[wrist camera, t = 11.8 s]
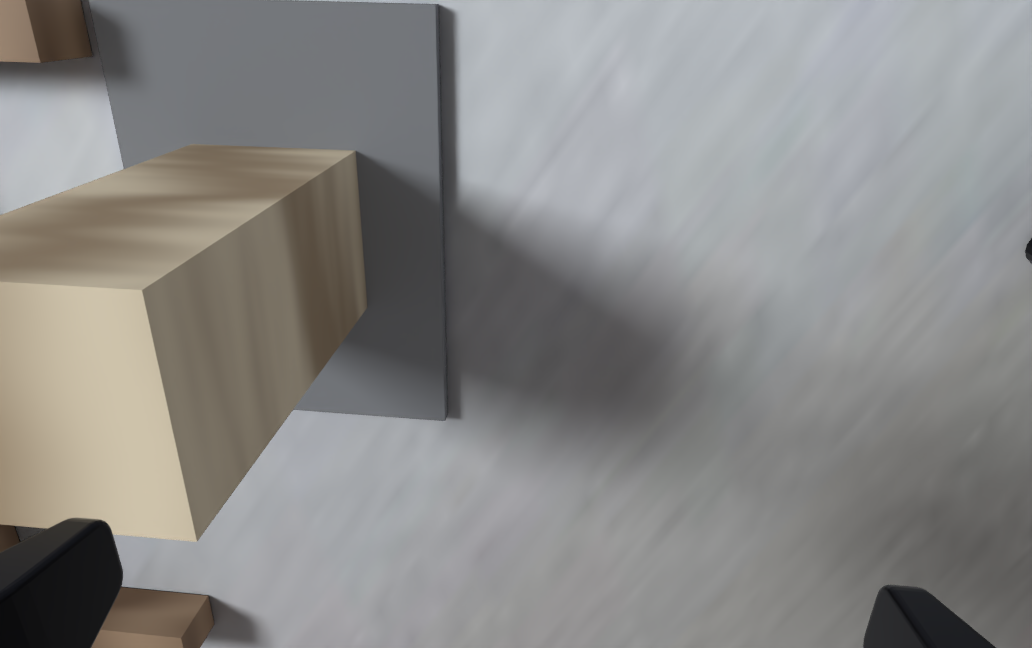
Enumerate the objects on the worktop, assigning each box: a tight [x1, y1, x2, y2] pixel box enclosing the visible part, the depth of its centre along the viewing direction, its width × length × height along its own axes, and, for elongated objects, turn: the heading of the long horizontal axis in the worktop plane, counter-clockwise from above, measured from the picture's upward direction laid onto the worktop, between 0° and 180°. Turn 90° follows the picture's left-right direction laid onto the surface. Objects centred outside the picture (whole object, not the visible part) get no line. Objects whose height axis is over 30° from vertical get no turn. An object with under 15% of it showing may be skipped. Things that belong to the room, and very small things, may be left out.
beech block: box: [0, 144, 367, 542], centre depth 16 cm, size 5×5×10 cm
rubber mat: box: [89, 0, 447, 421], centre depth 21 cm, size 9×12×1 cm
